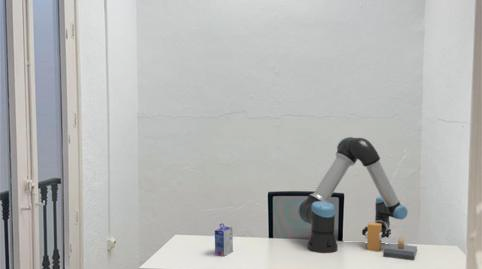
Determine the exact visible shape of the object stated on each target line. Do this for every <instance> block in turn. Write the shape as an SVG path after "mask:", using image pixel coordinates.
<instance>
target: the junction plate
mask: <svg viewBox="0 0 482 269" xmlns="http://www.w3.org/2000/svg"><path fill="white" fill-rule="evenodd" d="M397 242H398V243H387V245H386V246H385V247H383V248H382V257H385V258H394V259H402V260H408V261H410V260H411V261H414V260H415V257H416V255H417V251H418V246H415V245H408V244H407V245H406V244H405V238H403V237H398V240H397Z"/></svg>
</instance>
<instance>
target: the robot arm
mask: <svg viewBox="0 0 482 269" xmlns="http://www.w3.org/2000/svg"><path fill="white" fill-rule="evenodd" d="M336 149H337V150H336V153H335V159H334V161H333V162H332V163H331V165H330V167H329V168H328V170H327V172H326V173H325V175H324V176H323V178H322V180H320V183H319V184H318V186H317V187H316V189H315V190H314V192H313V193H310V194H308V196H307V197H306V199H304V200H302V201H300V202H299V204H298V205H297V215H298V217H299V219H301V220H302V221H304V223H307V224H310V225H311V229H310V230H311V233H310V236H309V239H308V241H307V249H308V250H309V251H311V252H316V253H335V252H337V251H338V242H337V239H336V235H335V222H336V220H335V215H336V211H335V210H336V209H335V206H334V204H332V203H331V202H329V200H330V198H331V197H332V195H333V194H334V192H335V190H336V189H337V187H338V186H339V184H340V182H341V181H342V179H343V178H344V176H345V175H346V173H347V172H348V170H349V168H350V167H351V166H354V165H355V164H356V162H357V161H359V162H360V163H361V164H362V166H363V167H365V168H366V170H367V173H369V176H370V178H371V180H372V182H373V183H374V185H375V188H376V189H377V192H378V193H379V196H377V197H376V198H375V218H374V220H375V221H374V223H381V224H382V229H381V233H380V234H379V240H381V241H382V239H384V238H389V237H390V235H391V234H392V229H391V228H390V225H391V223H390V217H391V218H393V219H395V220H404V219H405V218H406V217H407V216H408V209H407V207H406V206H404V205H403V204H401V203H400V201H399V198H398V196H397V194H396V192H395V191H394V188H393V186H392V184H391V182H390V180H389V178H388V176H387V173H386V172H385V170H384V168H383V166H382V164H381V162H380V159H381V157H380V155H379V153H378V151H377V150H376V148H375V147H374V145H373V144H372V143H371V142H370V141H369V140H368V139H366V138H364V137H352V136H351V137H350V136H349V137H344V138H342V139H340V140H339V142H338V143H337V146H336ZM361 233H362V234H361V235H362V236H364V237H365V238H364V239H365V240H368V226H364V228H363V229H362V231H361Z"/></svg>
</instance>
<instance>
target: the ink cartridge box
mask: <svg viewBox="0 0 482 269" xmlns="http://www.w3.org/2000/svg"><path fill="white" fill-rule="evenodd" d="M218 225H219V227H220V228H218V229H215V230H214V255H215V256H219V257H226V256H227V255H229V254H231V253H232V252H234V249H233V248H234V236H233V235H234V232H233V230H234V228H233V226H225V224H224V223H223V222H222V223H219V224H218Z"/></svg>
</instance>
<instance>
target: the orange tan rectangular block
mask: <svg viewBox="0 0 482 269" xmlns="http://www.w3.org/2000/svg"><path fill="white" fill-rule="evenodd" d="M367 227H368V238H367V243H366V244H367V246H366V247H367V249H366V250H367V251H373V252H380V251H381V250H382V239H381V240H379V234H380V233H381V229H382V224H381V223H375V222H369V223H368V224H367Z"/></svg>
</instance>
